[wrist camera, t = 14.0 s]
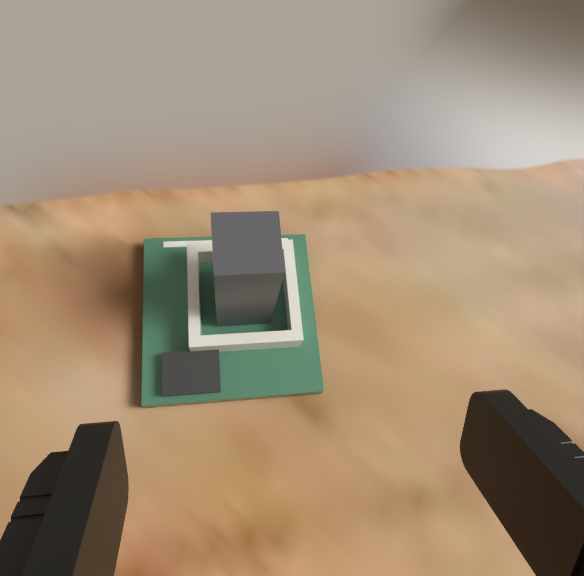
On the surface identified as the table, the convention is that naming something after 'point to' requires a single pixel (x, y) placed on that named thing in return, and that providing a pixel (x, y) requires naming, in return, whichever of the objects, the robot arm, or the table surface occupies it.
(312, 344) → the header board
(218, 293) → the plug
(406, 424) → the table surface
